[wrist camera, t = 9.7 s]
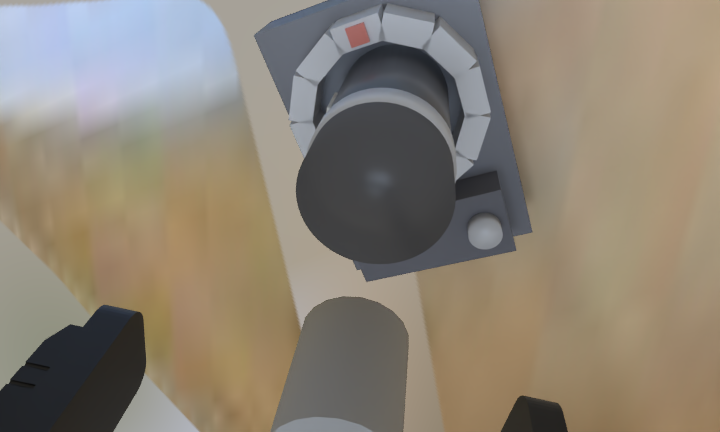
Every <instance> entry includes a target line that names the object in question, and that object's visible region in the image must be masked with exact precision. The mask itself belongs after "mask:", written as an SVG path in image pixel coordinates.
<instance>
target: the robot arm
mask: <svg viewBox="0 0 720 432" xmlns="http://www.w3.org/2000/svg"><path fill="white" fill-rule="evenodd" d="M145 367H146V352H145V337H144V322H143V316H142V314H141V313H140V312H137V311H132V310H127V309H123V308H118V307H113V306H109V305H103V306H101V307H100V308H99V309H98V310H97V311H96V312H95V313H94V314H93V315H92V317H91V318H90V319H89V320H88V322H87V323H86V324H85V325H84V327H80V326H75V325H69V326H67V327H65V328H64V329H62V330H61V331H59V332H57V333H56V334H55V335H52V336H51V337H49V338H48V339H46V340H45V341H44V342H43V343H42V344H41V345H40V346H39V347H38V348H37V350H36V351H35V352H34V353H33V354H32V355H31V356H30V358H29V359H28V360H27V361H26V364H25V366H22V367H21V368H20V369H19V370H18V371H17V372H16V374H15V375H14V376H13V377H12V378H11V380H10V383H9V384H6V385H5V386H4V387H3V389H1V391H0V432H113V431H114V429H115V428H116V426H117V424H118V423H119V421H120V419H121V418H122V416H123V414H124V413H125V411H126V409H127V408H128V406H129V404H130V403H131V401H132V399H133V397H134V396H135V394H136V392H137V391H138V389H139V387H140V385H141V381H142V379H143V376H144V372H145ZM501 432H568V431H567V427H566V423H565V419H564V415H563V411H562V408H561V406H560V405H559V404H558V403H555V402H550V401H545V400H541V399H536V398H531V397H527V396H520V397H519V398H518V399H517V401H516V403H515V404H514V406H513V408H512V410H511V412H510V414H509V416H508V418H507V420H506V422H505V424H504V426H503V428H502V430H501Z"/></svg>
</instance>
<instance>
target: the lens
mask: <svg viewBox="0 0 720 432" xmlns="http://www.w3.org/2000/svg"><path fill="white" fill-rule="evenodd" d="M456 175H457V165H456V152H455V145H454V140H453V137H452V134H451V124H450V111H449V97H448V88H447V83H446V80H445V77H444V75H443V73H442V71H441V69H440V68H439V66H438V65H437V64H436V62H435V61H434V60H433V59H432V58H431V57H429V56H428V55H427V54H425V53H424V52H422V51H420V50H418V49H416V48H414V47H410V46H405V45H400V44H391V45H384V46H380V47H377V48H375V49H372V50H370V51H369V52H367V53H365V54H364V55H363V56H361V57H360V58H359V59H358V60H357V61H356V62H355V63H354V65H353V66H352V67H351V69H350V71H349V72H348V74H347V76H346V78H345V80H344V82H343V84H342V86H341V88H340V90H339V92H338V93H336V92H335V93H334V95H333V97H332V99H331V101H330V103H329V104H328V106H327V110H326V114H325V115H324V116H323V118H322V120H321V121H320V123H319V125H318V127H317V129H316V131H315V132H314V134H313V136H312V138H311V141H310V143H309V146H308V150H307V154H306V156H305V158H304V160H303V162H302V165H301V167H300V170H299V173H298V177H297V183H296V197H297V203H298V207H299V210H300V213H301V216H302V218H303V220H304V222H305V224H306V225H307V227H308V228H309V230H310V231H311V232H312V233H313V235H314V236H315V237H316V238H317V239H318V240H319V241H320V242H321V243H323V244H324V245H325V246H326V247H328V248H329V249H330V250H332V251H334V252H335V253H337V254H339V255H341V256H343V257H346V258H348V259H351V260H354V261H358V262H362V263H368V264H391V263H398V262H401V261H405V260H408V259H411V258H413V257H416V256H418V255H420V254H421V253H423V252H425V251H426V250H428V249H429V248H431V247H432V246H433V245H434V244H435V243H436V242H437V241H438V240H439V239H440V238H441V237H442V235H443V234H444V233H445V231H446V229H447V228H448V226H449V224H450V222H451V219H452V217H453V213H454V209H455V201H456V194H455V182H456Z"/></svg>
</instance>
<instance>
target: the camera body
mask: <svg viewBox="0 0 720 432" xmlns="http://www.w3.org/2000/svg"><path fill="white" fill-rule="evenodd" d="M254 37H255V39H256V42H257V44H258V46H259V48H260V51H261V53H262V55H263V58H264V60H265V62H266V64H267V67H268V69H269V71H270V73H271V75H272V78H273V80H274V82H275V85H276V87H277V89H278V92H279V94H280V96H281V98H282V101H283V103H284V105H285V107H286V110H287V112H288V114H289V120H291V121H292V122H291V124H290V127H291V130H292V132H293V134H294V136H295V139H296V141H297V143H298V145H299V148H300V150H301V152H302V154H303V157H304V158H305V156H306V154H307V150H308V146H309V143H310V141H311V138H312V136H313V134H314V132H315V131H316V129H317V127H318V125H319V123H320V121H321V120H322V118H323V116H324V115H325V114H326V110H327V106H328V104H329V103H330V101H331V99H332V97H333V95H334V93H335V92H336V93H338V92H339V90H340V88H341V86H342V84H343V82H344V80H345V78H346V76H347V74H348V72H349V71H350V69H351V67H352V66H353V65H354V63H355V62H356V61H357V60H358V59H359V58H360V57H361V56H363V55H364V54H365V53H367V52H369V51H370V50H372V49H375V48H377V47H380V46H384V45H391V44H400V45H405V46H410V47H414V48H416V49H418V50H420V51H422V52H424V53H425V54H427V55H428V56H429V57H431V58H432V59H433V60H434V61H435V62H436V64H437V65H438V66H439V68H440V69H441V71H442V73H443V75H444V77H445V80H446V83H447V88H448V97H449V111H450V124H451V134H452V137H453V140H454V145H455V152H456V165H457V175H456V182H455V194H456V201H455V209H454V213H453V217H452V219H451V222H450V224H449V226H448V228H447V229H446V231H445V233H444V234H443V235H442V237H441V238H440V239H439V240H438V241H437V242H436V243H435V244H434V245H433V246H432V247H431V248H429V249H428V250H426V251H425V252H423V253H421V254H420V255H418V256H416V257H413V258H411V259H408V260H405V261H401V262H398V263H391V264H368V263H362V262H358V261H354V260H353V262H354V264H355V267H356V269H357V270H360V269H361V270H362V273H363V275H364V277H365V280H366V281H373V280H378V279H382V278H387V277H392V276H397V275H402V274H406V273H411V272H416V271H421V270H425V269H430V268H435V267H440V266H445V265H449V264H454V263H459V262H464V261H469V260H473V259H478V258H483V257H488V256H493V255H497V254H502V253H507V252H512V251H516V247H515V242H514V238H513V236H517V235H522V234H527V233H531V232H532V228H531V224H530V220H529V215H528V211H527V207H526V202H525V198H524V194H523V189H522V185H521V181H520V177H519V172H518V168H517V164H516V159H515V155H514V151H513V146H512V142H511V138H510V133H509V129H508V125H507V121H506V116H505V112H504V108H503V103H502V99H501V95H500V90H499V86H498V82H497V77H496V73H495V69H494V64H493V60H492V56H491V52H490V47H489V43H488V39H487V34H486V30H485V26H484V21H483V17H482V13H481V8H480V4H479V0H328V1H325V2H322V3H320V4H317V5H314V6H312V7H309V8H306V9H304V10H301V11H299V12H296V13H293V14H290V15H287V16H285V17H282V18H279V19H277V20H274V21H272V22H270V23H269V24H267V25H266V26H265V27H264V28H262V29H261V30H260V31H259V32H258V33H256V34H255V35H254Z"/></svg>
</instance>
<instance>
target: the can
mask: <svg viewBox="0 0 720 432" xmlns="http://www.w3.org/2000/svg"><path fill="white" fill-rule="evenodd" d="M407 361H408V333H407V330H406V328H405V326H404V323H403V322H402V321H401V320H400V318H398V316H397V315H396V314H395V313H394V312H393V311H392V310H390V309H388V308H387V307H385V306H383V305H381V304H380V303H378V302H375V301H372V300H368V299H365V298H361V297H339V298H334V299H330V300H326V301H324V302H323V303H321V304H319V305H317V306H316V307H314V308H313V309H312V311H310V313H309V314H308V315H307V316H306V318H305V321H304V324H303V327H302V330H301V334H300V337H299V340H298V344H297V347H296V350H295V353H294V357H293V360H292V363H291V366H290V370H289V373H288V376H287V379H286V383H285V386H284V389H283V392H282V396H281V399H280V402H279V406H278V409H277V412H276V415H275V419H274V422H273V425H272V428H271V432H403V428H404V411H405V395H406V394H405V393H406V378H407Z"/></svg>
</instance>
